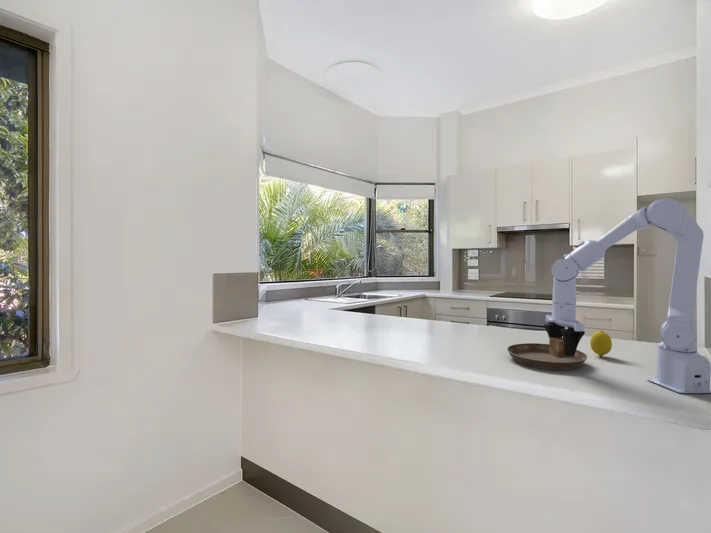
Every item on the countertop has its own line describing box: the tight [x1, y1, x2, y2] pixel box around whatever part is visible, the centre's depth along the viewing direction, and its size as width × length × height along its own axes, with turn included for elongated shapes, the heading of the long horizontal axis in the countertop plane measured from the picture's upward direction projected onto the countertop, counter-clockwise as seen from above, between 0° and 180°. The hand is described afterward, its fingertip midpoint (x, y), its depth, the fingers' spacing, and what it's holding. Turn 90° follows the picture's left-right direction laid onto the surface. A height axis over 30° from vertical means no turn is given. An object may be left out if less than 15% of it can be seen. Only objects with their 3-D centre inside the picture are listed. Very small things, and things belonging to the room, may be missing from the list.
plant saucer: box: [506, 342, 588, 371], centre depth 111 cm, size 21×21×3 cm
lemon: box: [589, 330, 613, 358], centre depth 117 cm, size 6×6×8 cm
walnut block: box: [548, 337, 574, 358], centre depth 106 cm, size 4×4×4 cm
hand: (562, 352), depth 106 cm, fingers open, 6 cm apart
